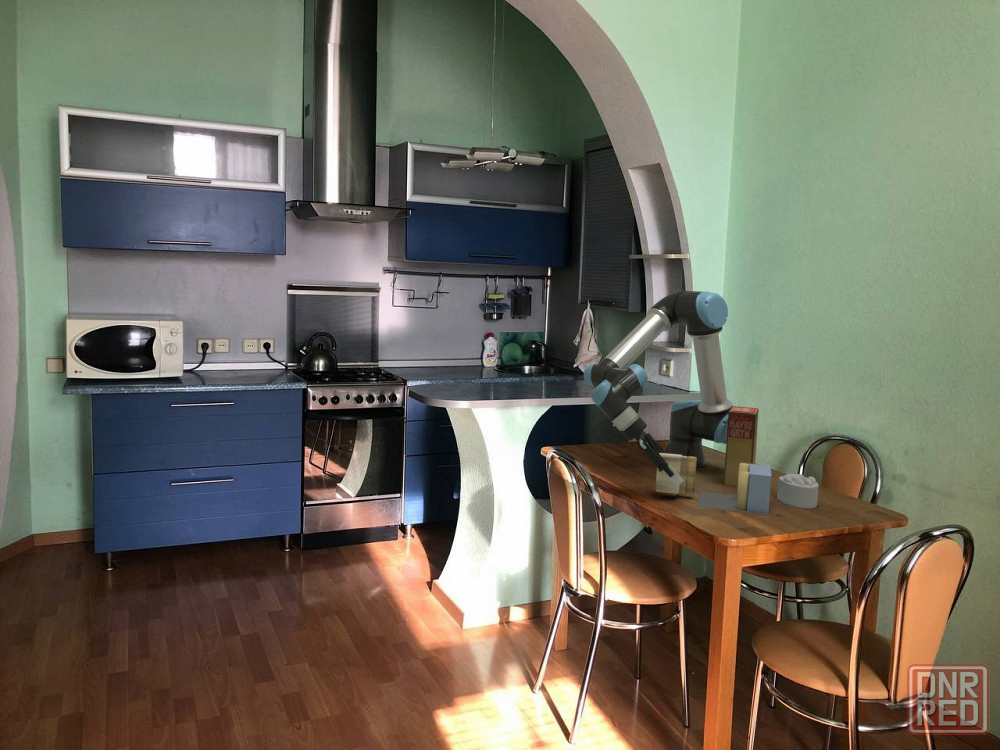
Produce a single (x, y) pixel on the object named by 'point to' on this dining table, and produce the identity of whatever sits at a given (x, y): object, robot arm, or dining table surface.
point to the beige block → (683, 468)
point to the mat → (721, 502)
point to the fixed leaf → (753, 487)
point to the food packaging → (740, 441)
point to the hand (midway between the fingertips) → (680, 481)
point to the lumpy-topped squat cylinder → (798, 491)
